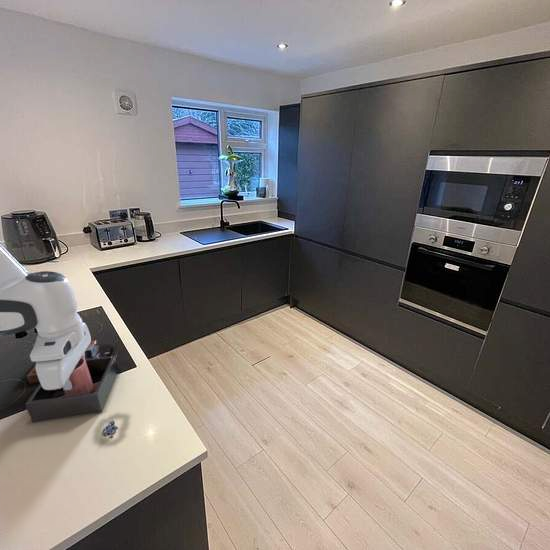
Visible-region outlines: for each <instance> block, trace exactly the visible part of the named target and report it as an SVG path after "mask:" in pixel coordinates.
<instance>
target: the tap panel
mask: <svg viewBox="0 0 550 550" xmlns="http://www.w3.org/2000/svg"><path fill="white" fill-rule="evenodd" d="M113 347H114V346H113V344H111V343H110V344H100V345H98V349H99V350H98V352H97V353H96V355H95V357H94V358H99V357H109V356H112V353H113V350H114V348H113ZM86 350H87V349H86ZM85 359H88V356H87V352H86V351H85Z"/></svg>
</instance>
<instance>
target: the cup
mask: <svg viewBox="0 0 550 550" xmlns="http://www.w3.org/2000/svg"><path fill="white" fill-rule="evenodd" d="M69 377H70V378H69V380H70V381H71V380H73V383H74V385H73V387H72V389H71V390H64V389H63V388H62V390H63V393H64V395H65V397H66V396H74V395H81V394H89V393H92V391H94V387H95V386H94V382H93V378H92V376H91V375H90V372H89V369H88V366H87V363H86V360H85V358H83V357H81V359H80V360H79V362H78V363H77V365H76V367H75V368H74V370H73V371H72V373H71V375H70V376H69Z"/></svg>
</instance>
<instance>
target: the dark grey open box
mask: <svg viewBox="0 0 550 550" xmlns="http://www.w3.org/2000/svg"><path fill="white" fill-rule="evenodd" d="M85 360H86V363H87V366H88V369H89V372H90V375H91V377H98V376H102V377H101V379H100V381H99V383H98V385H97V388H96V390H95V392H91V393H89V394H81V395H74V396H66V395H65V396H60V397H59V396H58V397H53V396H54V395H55V393H56V391H57V390H58V389H55V390H45V389H43V388H42V386H41V384H40V383H39V384H38V386H37V387H36V388H35V390H34V392H32V394H31V395H30V397H29V398H28V400H27V401H26V402H25V407H26V410H27V413H28V415H29V418H30V420H31V423H38V422H44V421H52V420H59V419H66V418H72V417H73V418H74V417H78V416H85V415H93V414H100V413H103V411H104V409H105V406H106V404H107V401H108V399H109V396H110V394H111V392H112V389H113V387H114V384H115V381H116V379H117V377H118V374H119V368H118V363H117V358H116V355H110V356H109V357H99V358H90V359H85Z"/></svg>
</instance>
